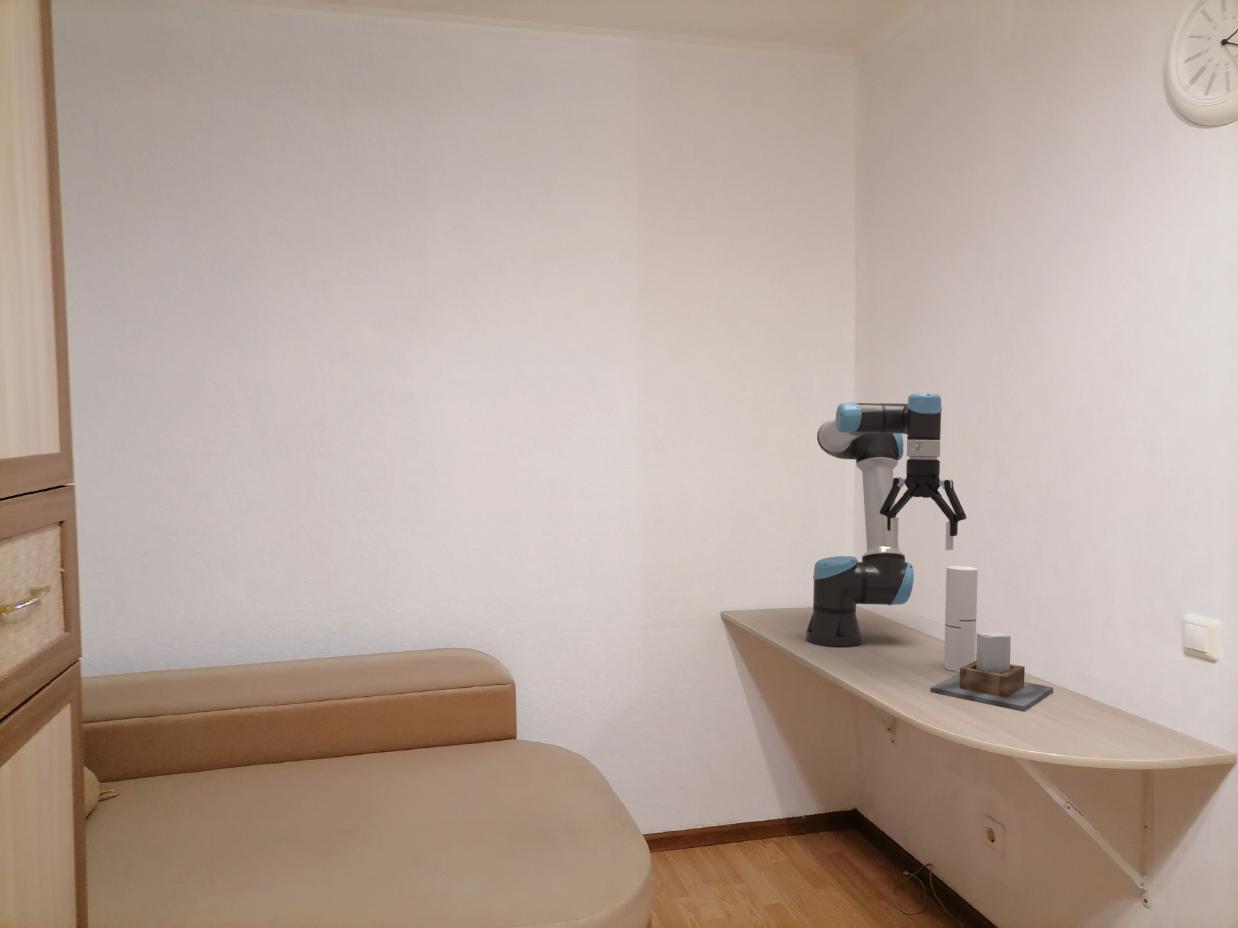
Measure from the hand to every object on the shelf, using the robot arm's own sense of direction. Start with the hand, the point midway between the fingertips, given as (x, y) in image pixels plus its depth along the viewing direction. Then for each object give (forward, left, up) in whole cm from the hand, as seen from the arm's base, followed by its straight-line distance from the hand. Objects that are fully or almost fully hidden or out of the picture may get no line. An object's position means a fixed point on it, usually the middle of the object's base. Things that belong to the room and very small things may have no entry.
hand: (921, 547), depth 210 cm
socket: (+18, -2, -31) cm, 36 cm away
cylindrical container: (+5, +13, -31) cm, 34 cm away
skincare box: (+18, -2, -30) cm, 35 cm away
